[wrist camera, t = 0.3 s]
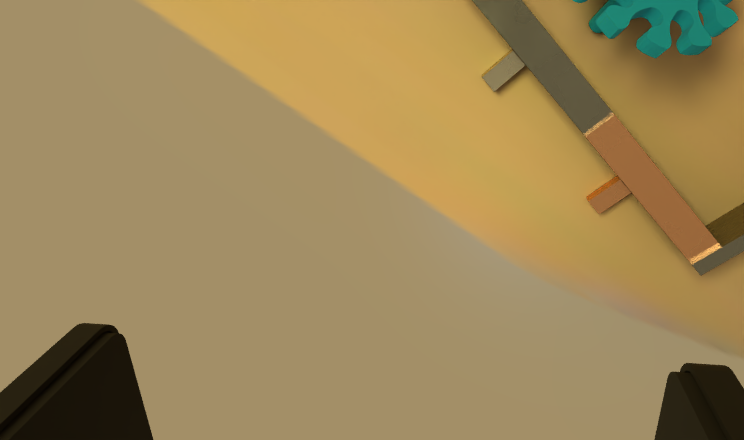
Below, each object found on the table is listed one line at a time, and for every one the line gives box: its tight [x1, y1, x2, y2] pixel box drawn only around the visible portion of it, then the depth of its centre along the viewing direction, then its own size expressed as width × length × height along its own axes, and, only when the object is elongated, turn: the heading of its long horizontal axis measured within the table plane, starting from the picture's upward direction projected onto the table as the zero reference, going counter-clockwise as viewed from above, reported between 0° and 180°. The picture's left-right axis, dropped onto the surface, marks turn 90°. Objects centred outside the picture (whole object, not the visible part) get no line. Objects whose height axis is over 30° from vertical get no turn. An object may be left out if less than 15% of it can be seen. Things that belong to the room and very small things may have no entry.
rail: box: [472, 0, 744, 275], centre depth 31 cm, size 20×24×3 cm
